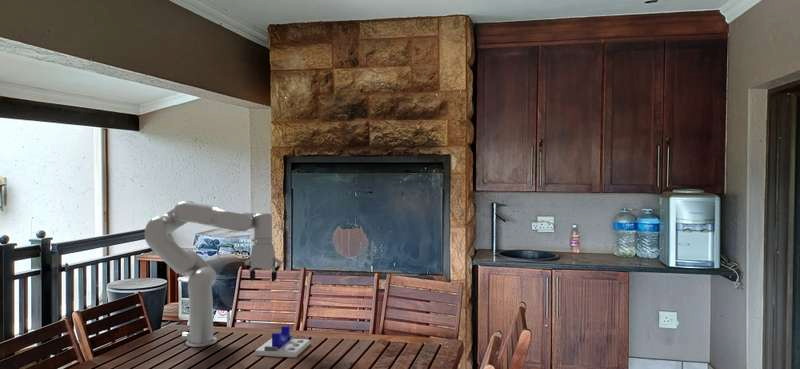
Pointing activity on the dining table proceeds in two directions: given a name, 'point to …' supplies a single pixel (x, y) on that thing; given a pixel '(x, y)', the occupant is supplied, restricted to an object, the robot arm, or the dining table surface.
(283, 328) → the cable clip
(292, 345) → the white square board
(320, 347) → the dining table surface
